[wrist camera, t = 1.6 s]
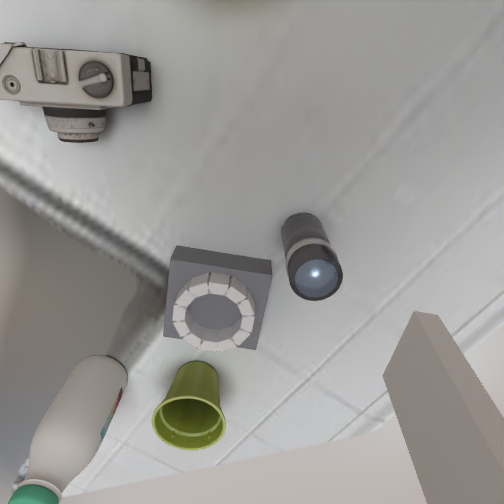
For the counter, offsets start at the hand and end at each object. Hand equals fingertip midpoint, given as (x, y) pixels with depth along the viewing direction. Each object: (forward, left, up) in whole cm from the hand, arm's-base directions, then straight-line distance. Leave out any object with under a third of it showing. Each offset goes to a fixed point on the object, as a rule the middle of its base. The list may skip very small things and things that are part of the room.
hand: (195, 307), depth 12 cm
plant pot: (+1, +34, -34) cm, 48 cm away
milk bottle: (+15, +36, -34) cm, 52 cm away
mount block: (0, +19, -34) cm, 39 cm away
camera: (+17, -2, -34) cm, 38 cm away
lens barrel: (-9, +9, -34) cm, 36 cm away
